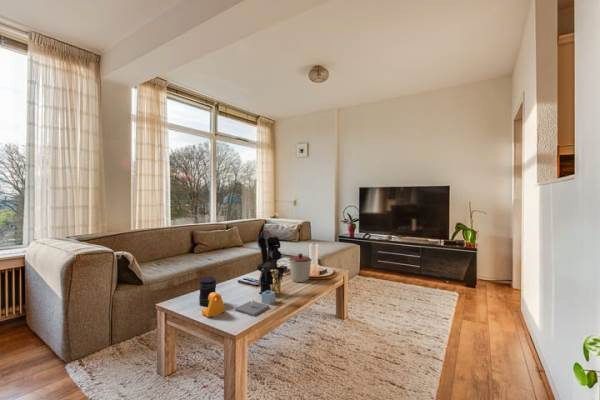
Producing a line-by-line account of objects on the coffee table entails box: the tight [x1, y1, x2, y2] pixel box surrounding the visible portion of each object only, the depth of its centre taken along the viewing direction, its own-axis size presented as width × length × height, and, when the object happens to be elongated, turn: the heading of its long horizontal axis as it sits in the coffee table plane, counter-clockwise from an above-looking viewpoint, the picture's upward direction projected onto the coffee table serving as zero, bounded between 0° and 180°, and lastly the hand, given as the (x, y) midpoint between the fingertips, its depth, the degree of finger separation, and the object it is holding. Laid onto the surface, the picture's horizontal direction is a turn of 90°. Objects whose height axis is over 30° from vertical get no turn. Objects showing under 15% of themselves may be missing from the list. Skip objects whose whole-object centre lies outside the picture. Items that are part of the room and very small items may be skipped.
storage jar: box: [198, 276, 217, 308], centre depth 174 cm, size 10×10×15 cm
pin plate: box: [234, 299, 270, 317], centre depth 166 cm, size 14×14×6 cm
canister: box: [288, 253, 313, 283], centre depth 221 cm, size 18×18×21 cm
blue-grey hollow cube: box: [261, 290, 276, 306], centre depth 177 cm, size 6×6×6 cm
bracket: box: [201, 291, 226, 318], centre depth 160 cm, size 11×7×12 cm, turn 139°
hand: (272, 281), depth 176 cm, fingers open, 9 cm apart
